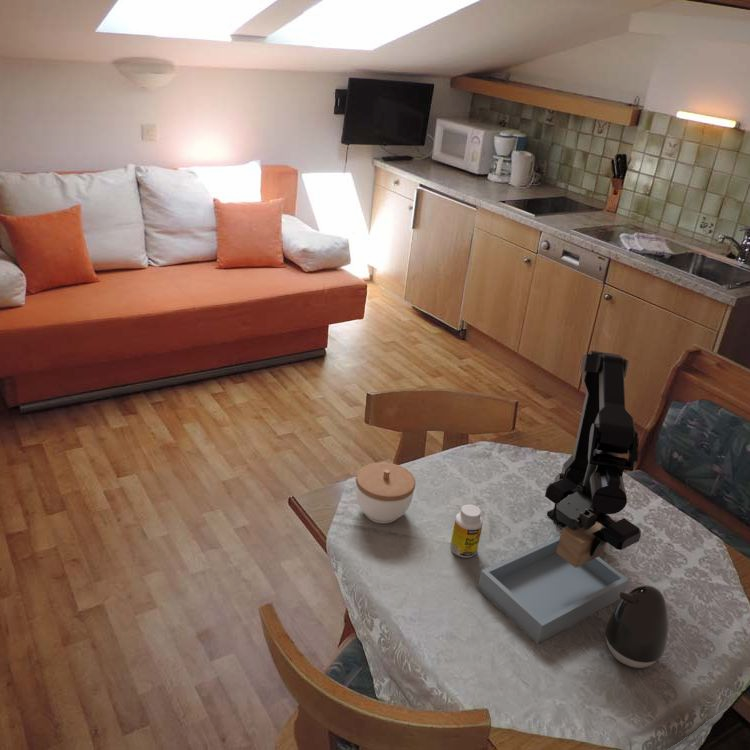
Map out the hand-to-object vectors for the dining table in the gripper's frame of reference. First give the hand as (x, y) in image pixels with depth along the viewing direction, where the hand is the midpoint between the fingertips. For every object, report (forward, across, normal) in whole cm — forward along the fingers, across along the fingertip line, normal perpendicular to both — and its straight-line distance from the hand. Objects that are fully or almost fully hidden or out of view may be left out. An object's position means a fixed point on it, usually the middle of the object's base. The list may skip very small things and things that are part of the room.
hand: (581, 547), depth 146 cm
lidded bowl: (+9, -36, -21) cm, 43 cm away
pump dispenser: (+9, +18, -5) cm, 21 cm away
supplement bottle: (+9, -18, -13) cm, 24 cm away
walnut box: (+2, 0, 0) cm, 2 cm away
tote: (+9, 0, -6) cm, 11 cm away
